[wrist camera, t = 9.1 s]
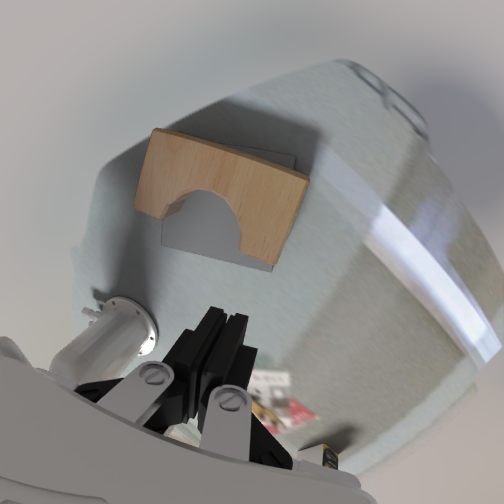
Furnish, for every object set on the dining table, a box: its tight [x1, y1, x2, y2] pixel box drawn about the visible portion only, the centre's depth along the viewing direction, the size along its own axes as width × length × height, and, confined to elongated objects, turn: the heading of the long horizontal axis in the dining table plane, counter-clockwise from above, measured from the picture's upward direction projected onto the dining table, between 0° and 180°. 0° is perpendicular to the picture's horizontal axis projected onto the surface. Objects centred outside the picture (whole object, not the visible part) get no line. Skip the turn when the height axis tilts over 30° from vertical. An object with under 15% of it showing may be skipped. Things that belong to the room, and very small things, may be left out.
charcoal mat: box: [161, 142, 296, 272], centre depth 38 cm, size 17×16×1 cm
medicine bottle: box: [296, 444, 338, 470], centre depth 46 cm, size 7×7×12 cm
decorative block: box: [133, 128, 310, 266], centre depth 35 cm, size 11×6×20 cm
